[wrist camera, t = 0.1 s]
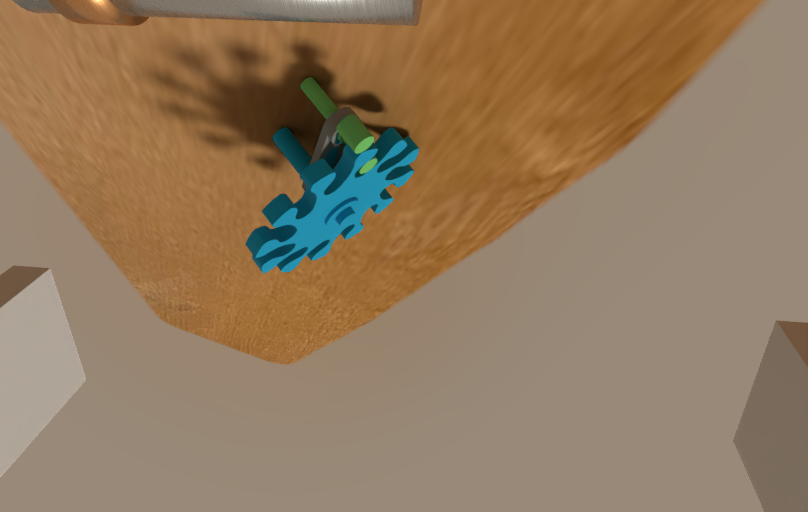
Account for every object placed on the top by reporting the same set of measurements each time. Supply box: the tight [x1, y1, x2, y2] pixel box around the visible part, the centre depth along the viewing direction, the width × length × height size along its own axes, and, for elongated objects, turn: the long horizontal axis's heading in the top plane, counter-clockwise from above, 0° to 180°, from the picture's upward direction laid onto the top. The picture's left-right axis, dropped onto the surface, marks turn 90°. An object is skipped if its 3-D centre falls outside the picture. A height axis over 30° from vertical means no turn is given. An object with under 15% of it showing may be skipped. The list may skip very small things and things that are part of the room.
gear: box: [246, 77, 419, 273], centre depth 31 cm, size 11×6×10 cm
